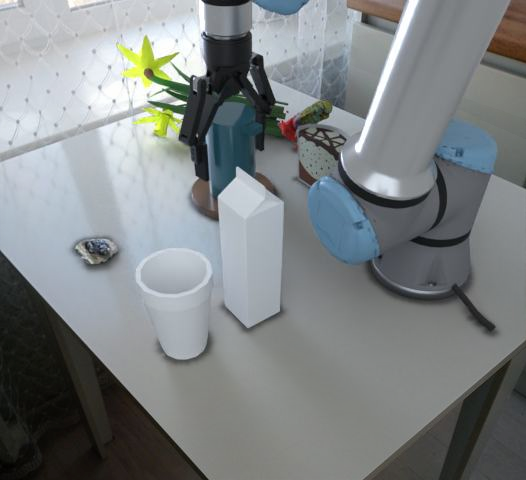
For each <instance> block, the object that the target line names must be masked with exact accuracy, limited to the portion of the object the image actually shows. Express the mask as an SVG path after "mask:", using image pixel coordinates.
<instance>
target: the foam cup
mask: <svg viewBox="0 0 526 480" xmlns="http://www.w3.org/2000/svg"><path fill="white" fill-rule="evenodd" d="M135 283H136V287H137V293H138V296H139V297H140V299H141V300H142V302H143V304H144V307H145V310H146V312H147V315H148V317H149V319H150V323H151V324H152V327H153V329H154V332H155V334H156V336H157V337H156V338H157V339H158V342H159V344H160V346H161V348H162V350H163V352H164V353H165V354H166V355H167V356H168V357H170V358H172V359H174V360H185V361H187V360H190V359H194V358H196V357H198V356H199V355H201V354H202V353H203V352H204V351H205V349H206V348H207V347H206V346H207V345H208V340H209V339H208V338H209V327H210V314H211V305H212V303H211V302H212V293H213V292H212V291H213V289H214V286H215V285H214V274H213V269H212V264H211V261H210V260H209V259H208V258H207V257H206V256H205V255H204V254H203V253H202V252H199V251H196V250H193V249H191V248H188V247H168V248H164V249H161V250H157V251H154V252H152V253H150V254H149V255H148V256H146V257H144V258H143V259H142V260H141V261H140V263H139V265H138V266H137V267H136V269H135Z"/></svg>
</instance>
